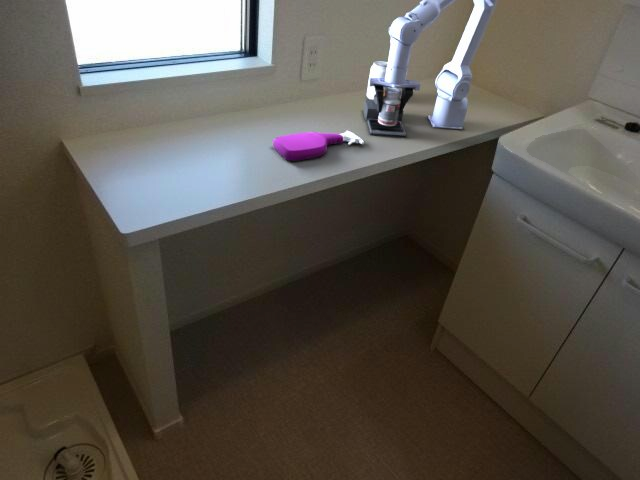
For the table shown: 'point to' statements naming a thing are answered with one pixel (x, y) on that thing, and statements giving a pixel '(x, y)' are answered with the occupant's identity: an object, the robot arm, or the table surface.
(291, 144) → the spray bottle
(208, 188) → the table surface
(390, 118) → the pill bottle
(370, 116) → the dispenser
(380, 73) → the can
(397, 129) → the drip tray
